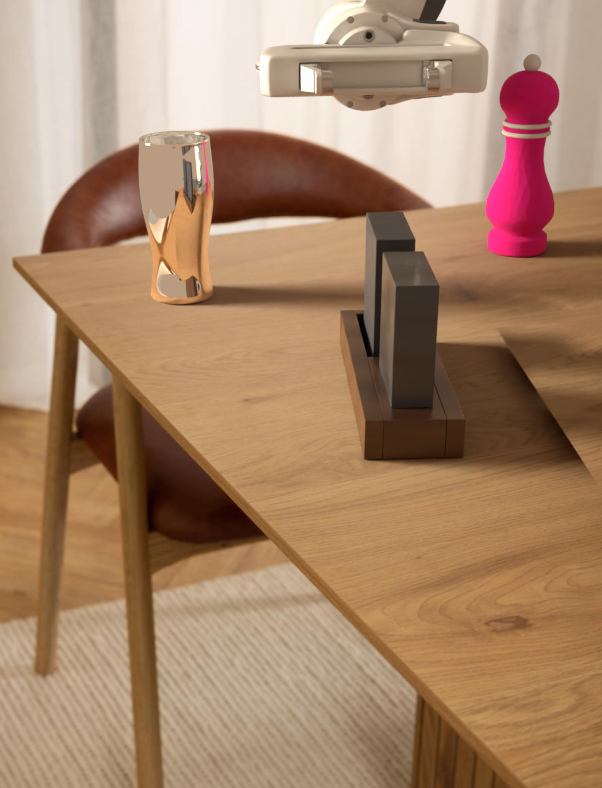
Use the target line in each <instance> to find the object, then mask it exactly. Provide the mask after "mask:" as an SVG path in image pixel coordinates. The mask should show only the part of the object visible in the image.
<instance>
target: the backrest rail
mask: <svg viewBox="0 0 602 788" xmlns="http://www.w3.org/2000/svg"><path fill="white" fill-rule="evenodd" d="M440 288H441V287H440V284H439V282H438V280H437V277H436V275H435V273H434V271H433V269H432V267H431V265H430V263H429V260H428V258H427V256H426V254H425V252H424V251H423V250H418V251H417V250H415V251H408V252H383V263H382V294H381V325H380V356H379V357H368V358H367V354H366V350H365V346H364V342H363V330H364V309H345V310H344V309H341V310H340V311H339V312H340V313H339V314H340V315H339V317H340V318H339V344H340V350H341V354H342V359H343V365H344V369H345V374H346V379H347V384H348V387H349V388H348V389H349V394H350V398H351V402H352V408H353V413H354V418H355V422H356V427H357V431H358V437H359V441H360V446H361V450H362V456H363V459H364V460H402V459H403V460H405V459H406V460H407V459H444V458H445V459H448V458H451V459H452V458H455V459H456V458H463V457H464V451H465V449H464V448H465V435H466V417H465V414H464V412H463V409H462V407H461V405H460V402H459V399H458V397H457V395H456V392H455V389H454V386H453V385H452V382H451V379H450V378H449V375H448V372H447V370H446V367H445V365H444V363H443V360H442V357H441V355H440V353H439V350H438V347H437V341H438V339H437V338H438V325H439V324H438V322H439V304H440V290H441V289H440Z"/></svg>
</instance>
